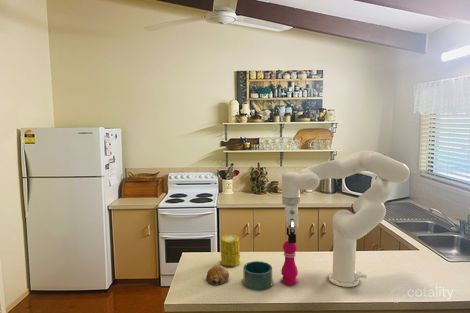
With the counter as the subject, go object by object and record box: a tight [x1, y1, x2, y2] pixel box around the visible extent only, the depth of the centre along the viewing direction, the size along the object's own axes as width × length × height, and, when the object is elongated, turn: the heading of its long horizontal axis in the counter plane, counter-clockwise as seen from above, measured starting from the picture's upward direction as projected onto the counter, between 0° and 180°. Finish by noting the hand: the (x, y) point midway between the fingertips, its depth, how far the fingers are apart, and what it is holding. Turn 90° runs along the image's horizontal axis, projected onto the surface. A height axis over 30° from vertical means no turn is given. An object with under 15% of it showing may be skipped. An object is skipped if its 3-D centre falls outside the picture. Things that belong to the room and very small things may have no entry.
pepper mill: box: [280, 240, 299, 286], centre depth 140 cm, size 7×7×20 cm
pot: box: [242, 260, 273, 291], centre depth 140 cm, size 13×13×7 cm
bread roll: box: [206, 264, 230, 286], centre depth 143 cm, size 10×10×8 cm
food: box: [220, 234, 241, 267], centre depth 159 cm, size 15×12×10 cm
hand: (291, 238), depth 139 cm, fingers open, 9 cm apart
